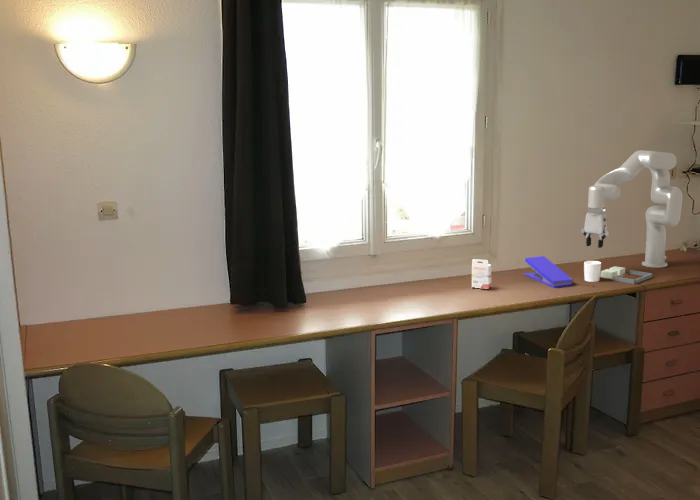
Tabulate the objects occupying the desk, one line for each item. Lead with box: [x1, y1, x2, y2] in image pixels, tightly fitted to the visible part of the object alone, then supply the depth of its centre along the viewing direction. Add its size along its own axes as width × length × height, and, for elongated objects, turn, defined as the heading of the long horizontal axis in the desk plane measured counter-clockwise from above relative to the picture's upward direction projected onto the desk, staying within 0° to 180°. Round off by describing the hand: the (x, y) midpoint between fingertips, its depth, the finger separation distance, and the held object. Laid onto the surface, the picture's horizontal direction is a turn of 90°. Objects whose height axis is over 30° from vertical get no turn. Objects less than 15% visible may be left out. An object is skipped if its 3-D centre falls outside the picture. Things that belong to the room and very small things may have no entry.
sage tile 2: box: [609, 265, 626, 276], centre depth 363 cm, size 6×6×3 cm
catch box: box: [612, 269, 654, 285], centre depth 353 cm, size 18×11×3 cm, turn 132°
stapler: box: [523, 255, 573, 289], centre depth 358 cm, size 12×28×10 cm, turn 18°
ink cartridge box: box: [471, 258, 492, 290], centre depth 347 cm, size 9×5×15 cm, turn 62°
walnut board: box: [600, 269, 629, 281], centre depth 362 cm, size 16×14×1 cm
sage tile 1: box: [601, 268, 617, 280], centre depth 357 cm, size 6×6×3 cm
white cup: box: [583, 260, 602, 283], centre depth 352 cm, size 8×8×10 cm
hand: (594, 246), depth 361 cm, fingers open, 5 cm apart
